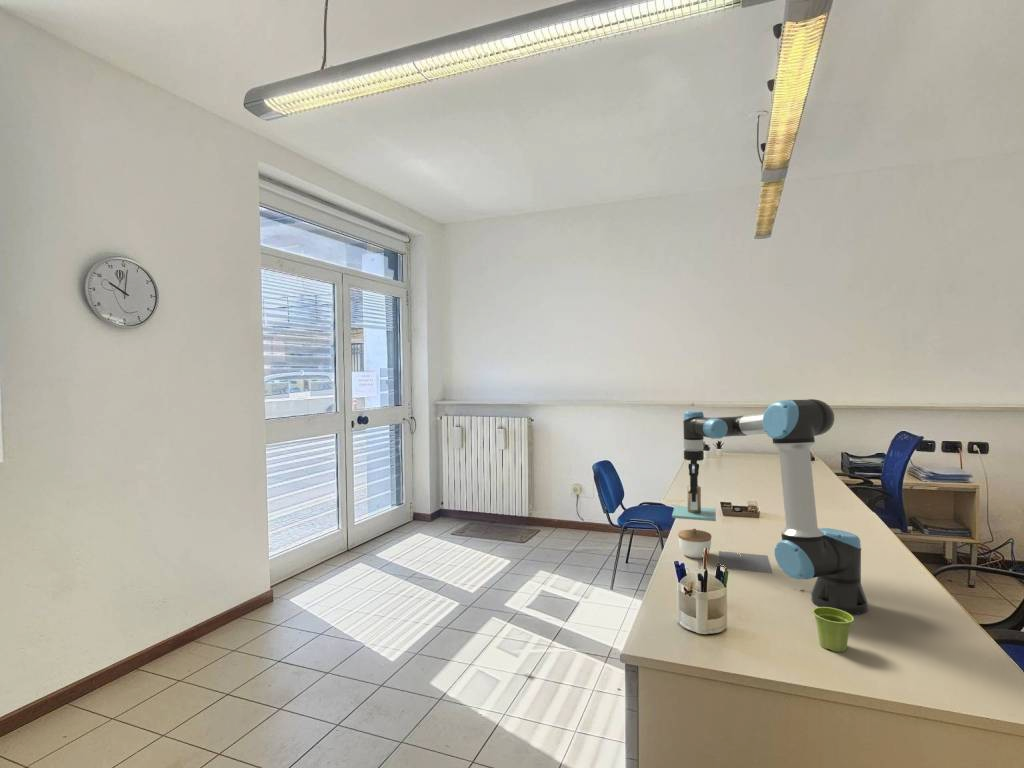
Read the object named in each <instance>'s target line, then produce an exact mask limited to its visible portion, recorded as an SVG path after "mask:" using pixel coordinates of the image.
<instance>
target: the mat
mask: <svg viewBox="0 0 1024 768" xmlns="http://www.w3.org/2000/svg"><path fill="white" fill-rule="evenodd" d="M737 553H738V554H737ZM739 553H740V554H739ZM740 555H741V556H740ZM719 562H720V563H719ZM719 564H721V565H724V566H725V567H726V568H727V569H726V568H725V569H726V570H728V569H729V570H735V571H737V570H738V571H747V572H756V573H766V574H767V573H768V574H773V570H772V567H771V564H770V560H769V556H768V555H765V554H755V553H742V552H733V551H732V552H731V551H724V552H723V551H722V550H718V565H719Z"/></svg>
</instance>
